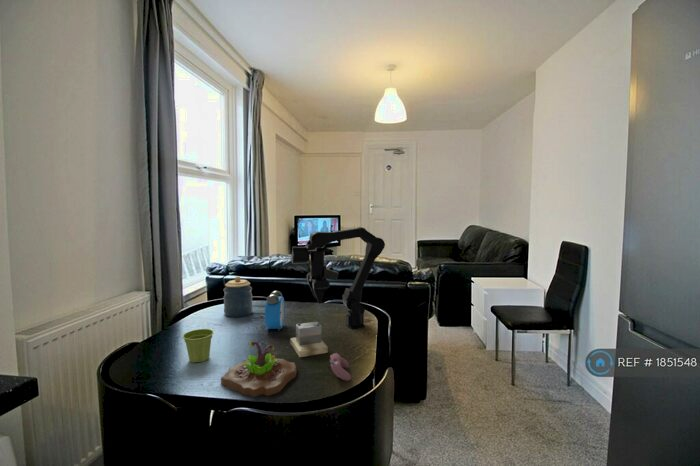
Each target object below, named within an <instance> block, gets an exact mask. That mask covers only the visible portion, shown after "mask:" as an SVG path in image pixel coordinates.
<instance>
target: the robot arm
mask: <svg viewBox="0 0 700 466" xmlns="http://www.w3.org/2000/svg"><path fill="white" fill-rule="evenodd" d="M355 238H356V239H357V238H360V239H361V240H362V241H363V242H364V243H365V244H366V245H365V251H364V252H365V254H364V258H363V259H362V262H361V264H360V266H359V268H358V271H357V273H356V275H355V278H354V280H353V282H352V285H351V286H350V287H349V288H347V287H345V289H344V291H343V292H344V293H343V294H342V295H341V296H342V302H343V303H342V304H343V305H344V306H345V307H346V308H347V310H346V311H347V312H346V313H347V314H346V318H345V321H346V322H345V325H346V326H347V327H349V328H350V329H357V328H365V327H366V325H365V324H364V318H365V317H364V316H365V310H366V308H365V307H364V306H363V305H361V301H362V293H363V288H364V287H365V283H366V281H367V279H368V277H369V274H370V272H371V270H372V268H373V265H374V263H375V260H376V259H377V258H378V257H379V256H380V255H381V254H382V252H383V250H384V249H385V247H386V244H385V240H384V239H382V237H377V236H375V235H374V234H373V233H371V232H370V231H368V230H367V229H366V228H365V227H362V226H358V227H354V228H349V229H342V230H335V231H313V232H311V233H310V235H309V240H308V241H307V242H306V244H305V246H292V248H291V249H292V250H291V258H290V259H291V264H292V265H296V264H297V265H300V264H307V262H309V261H310V264H309V268H310V272H308V273H306V280H307V283H308V286H309V288H310V290H311V293H312V295H313V297H314V299H316V300H317V303H318V304H319V305H321V304H322V302H323V298H324V295H325V291H327V290H329V289H330V286H331V285H330V284H331V282H330V281H329V280H327V278H329V279H332V280H334V281H337V280H338V277H339V274H340V273H339V272H338V271H337V270H335V269H334V267H332V266H328V267H327V266H326V264H325V263H326V261H325V255H326V254H325V252H327V253H329V252H330V249H329V248H328V247H327V246H326V245H329V244H331V243H333V242H336V241H337V242H338V241H343V240H345V241H346V240H350V239H355Z"/></svg>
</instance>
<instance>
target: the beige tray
mask: <svg viewBox="0 0 700 466" xmlns="http://www.w3.org/2000/svg"><path fill="white" fill-rule="evenodd" d="M289 340H290V341H289V343H290V346H292V348H293V349H294V351H295V353H296V354H297V356H298V358H303V357H304V358H305V357H309V356H316V355H321V354H326V353H328V352H329V351H328V350H329V347H328V345H327V344H326V343H325V342H324V341H323V340H322V342H320V343H314V344H307V345H301V346H299V344H298V343H297V341H296V336H295V337H290V339H289Z"/></svg>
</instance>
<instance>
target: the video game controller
mask: <svg viewBox="0 0 700 466" xmlns="http://www.w3.org/2000/svg"><path fill="white" fill-rule="evenodd" d="M329 357H330V359H329V363H330V368H331V370H332V372H333V374H334V375H335V376H336V377H337V378H339V379H341V380H343V381H345V382H348V381H350V380H351V377H352V376H351V374H350V373H349V372H348V371H347V370H346V369H345V368H348V367H349V362H348V360H346V359H345V358H344V357H342V356H341V355H340V354H339V353H337V352H335V353H332V354H330V355H329Z"/></svg>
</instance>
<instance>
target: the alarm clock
mask: <svg viewBox="0 0 700 466" xmlns="http://www.w3.org/2000/svg"><path fill="white" fill-rule="evenodd" d="M285 304H286V303H285V299H284V297H283V294H282V292H281V291H279V290H273V291H272V292H271V293H270V294H269V295H267V298H266V300H265V306H264V308H265V309H264V323H265V328H266V329H268V330H278V332H280V330H281V329H283V327H284V323H285V315H286V305H285Z"/></svg>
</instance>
